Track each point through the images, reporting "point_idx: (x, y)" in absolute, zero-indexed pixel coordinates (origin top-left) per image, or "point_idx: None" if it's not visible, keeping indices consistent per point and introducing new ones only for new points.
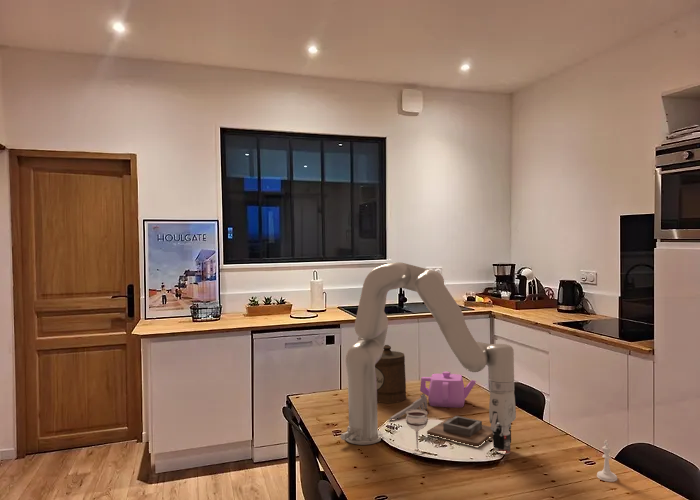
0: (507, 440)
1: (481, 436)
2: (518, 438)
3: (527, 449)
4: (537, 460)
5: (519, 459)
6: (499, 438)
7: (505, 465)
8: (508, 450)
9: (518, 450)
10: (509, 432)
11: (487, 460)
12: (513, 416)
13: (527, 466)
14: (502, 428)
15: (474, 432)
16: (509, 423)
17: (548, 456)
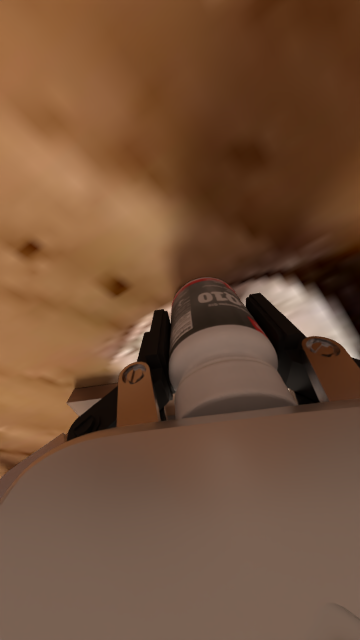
0: (236, 307)
1: (173, 398)
2: (39, 331)
3: (92, 242)
4: (178, 79)
5: (236, 199)
6: (302, 338)
7: (349, 213)
8: (215, 281)
9: (139, 267)
10: (214, 337)
11: (320, 300)
12: (125, 545)
13: (317, 80)
14: (349, 390)
15: (169, 419)
16: (331, 419)
17: (46, 40)
